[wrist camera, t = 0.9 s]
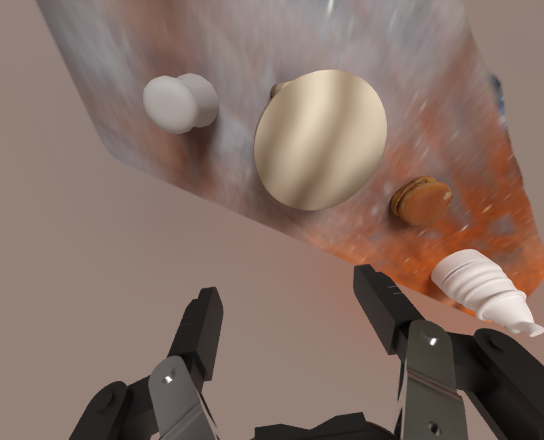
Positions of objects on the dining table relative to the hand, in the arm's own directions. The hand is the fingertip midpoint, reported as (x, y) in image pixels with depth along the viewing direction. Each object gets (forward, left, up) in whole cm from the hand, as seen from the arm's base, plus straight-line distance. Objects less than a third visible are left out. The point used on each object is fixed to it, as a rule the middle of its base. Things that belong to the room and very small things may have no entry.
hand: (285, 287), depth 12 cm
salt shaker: (-9, +7, -25) cm, 27 cm away
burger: (+31, -2, -25) cm, 40 cm away
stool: (+6, +5, -25) cm, 26 cm away
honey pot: (+57, -19, -25) cm, 65 cm away
